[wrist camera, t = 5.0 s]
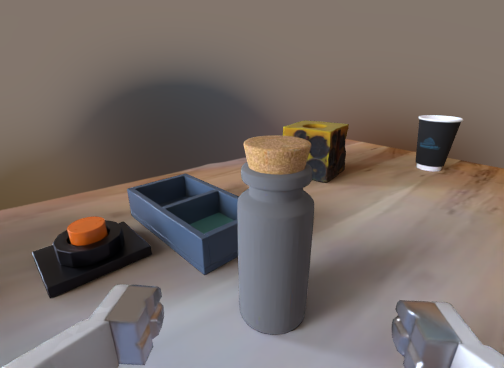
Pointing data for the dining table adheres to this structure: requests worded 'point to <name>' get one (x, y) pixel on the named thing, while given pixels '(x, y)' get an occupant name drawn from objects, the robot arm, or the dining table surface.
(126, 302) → the robot arm
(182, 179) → the tray
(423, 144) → the dixie cup
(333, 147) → the candle
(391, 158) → the dining table surface
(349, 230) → the dining table surface
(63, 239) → the control block
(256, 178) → the bottle
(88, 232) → the button
